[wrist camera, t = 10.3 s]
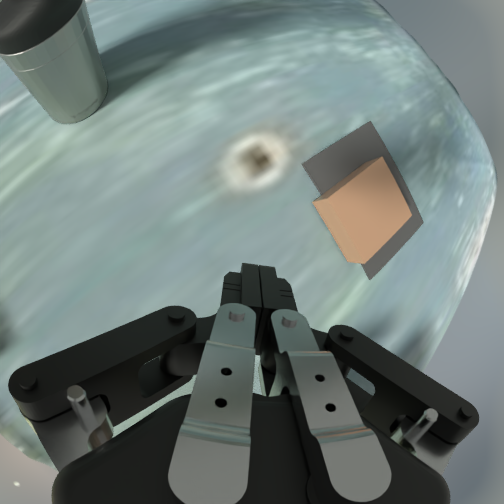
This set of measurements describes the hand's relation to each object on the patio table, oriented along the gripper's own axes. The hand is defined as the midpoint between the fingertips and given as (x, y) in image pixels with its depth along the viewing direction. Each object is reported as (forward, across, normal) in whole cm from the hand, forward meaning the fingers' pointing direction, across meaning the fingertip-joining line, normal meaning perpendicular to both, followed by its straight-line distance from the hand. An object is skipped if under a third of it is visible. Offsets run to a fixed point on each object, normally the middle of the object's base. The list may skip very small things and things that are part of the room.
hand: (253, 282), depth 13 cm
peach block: (+23, -12, +4) cm, 26 cm away
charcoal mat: (+29, -19, -1) cm, 35 cm away
